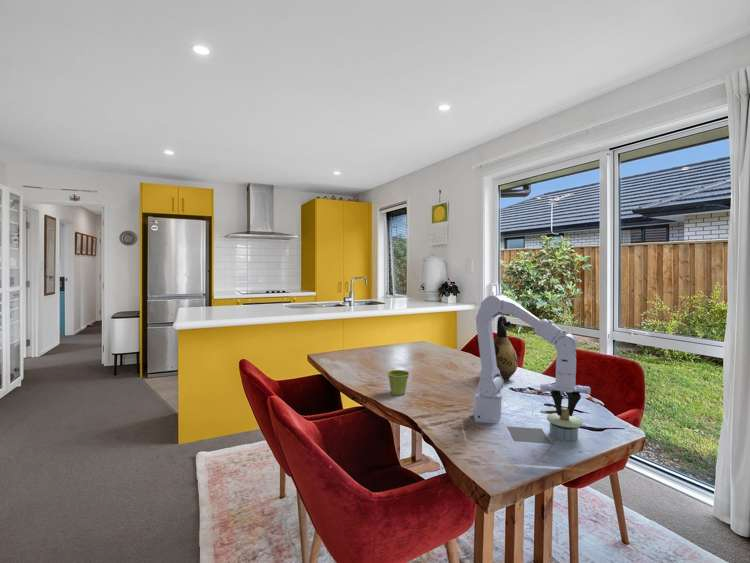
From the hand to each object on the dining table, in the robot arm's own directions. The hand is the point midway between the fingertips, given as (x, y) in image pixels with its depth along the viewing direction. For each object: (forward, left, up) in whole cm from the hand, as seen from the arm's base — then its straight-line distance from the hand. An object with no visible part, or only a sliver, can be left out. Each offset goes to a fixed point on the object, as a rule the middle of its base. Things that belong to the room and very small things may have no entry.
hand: (564, 414), depth 128 cm
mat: (-11, -1, -7) cm, 13 cm away
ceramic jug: (-8, +66, -8) cm, 67 cm away
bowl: (0, 0, -7) cm, 7 cm away
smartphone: (+5, +17, -8) cm, 19 cm away
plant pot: (-55, +35, -8) cm, 66 cm away
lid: (0, 0, -2) cm, 2 cm away
